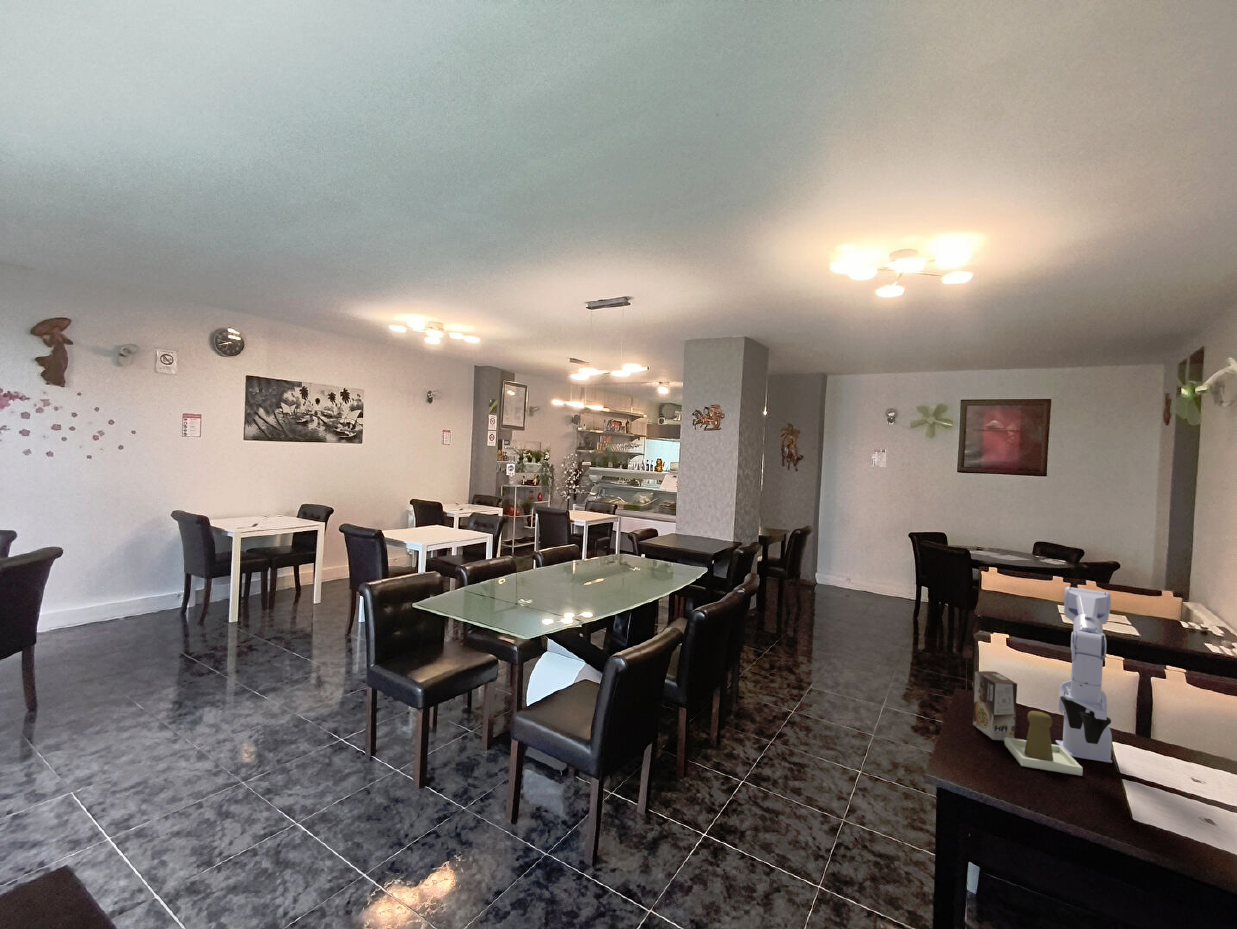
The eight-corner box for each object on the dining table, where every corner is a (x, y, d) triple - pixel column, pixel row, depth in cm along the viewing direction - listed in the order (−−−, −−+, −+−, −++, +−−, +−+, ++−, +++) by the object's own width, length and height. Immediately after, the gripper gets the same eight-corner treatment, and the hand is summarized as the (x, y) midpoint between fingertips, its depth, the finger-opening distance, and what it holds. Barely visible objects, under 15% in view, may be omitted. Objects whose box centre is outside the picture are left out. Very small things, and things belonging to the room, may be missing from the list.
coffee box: (1015, 741, 152) (1018, 683, 152) (992, 740, 152) (995, 682, 152) (993, 725, 161) (996, 670, 161) (971, 724, 161) (974, 669, 161)
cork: (1059, 762, 139) (1060, 718, 140) (1033, 759, 140) (1034, 714, 141) (1043, 752, 145) (1044, 710, 146) (1019, 749, 146) (1020, 706, 147)
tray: (1060, 752, 147) (1060, 745, 147) (1082, 775, 136) (1082, 767, 136) (1004, 744, 150) (1004, 736, 150) (1021, 765, 140) (1021, 758, 140)
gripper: (1052, 667, 143) (1050, 719, 143) (1082, 690, 129) (1079, 746, 129) (1085, 671, 141) (1082, 723, 141) (1118, 694, 127) (1115, 752, 128)
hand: (1083, 735), depth 135 cm, fingers open, 7 cm apart
